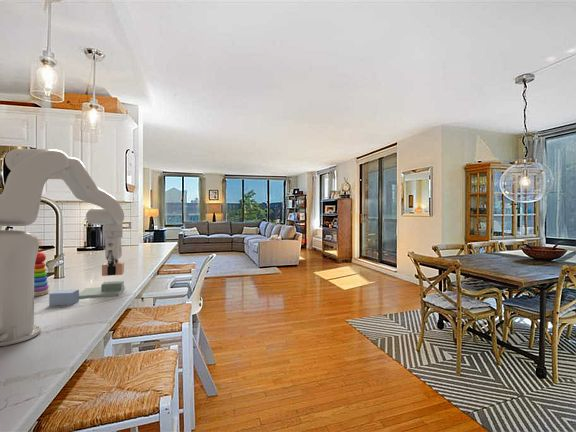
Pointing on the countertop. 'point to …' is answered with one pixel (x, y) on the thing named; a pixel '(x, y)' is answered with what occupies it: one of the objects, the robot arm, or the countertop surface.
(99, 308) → the countertop surface
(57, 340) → the countertop surface
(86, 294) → the build plate
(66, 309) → the countertop surface
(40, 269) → the stacking toy
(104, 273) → the terracotta brick
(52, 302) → the slate brick
